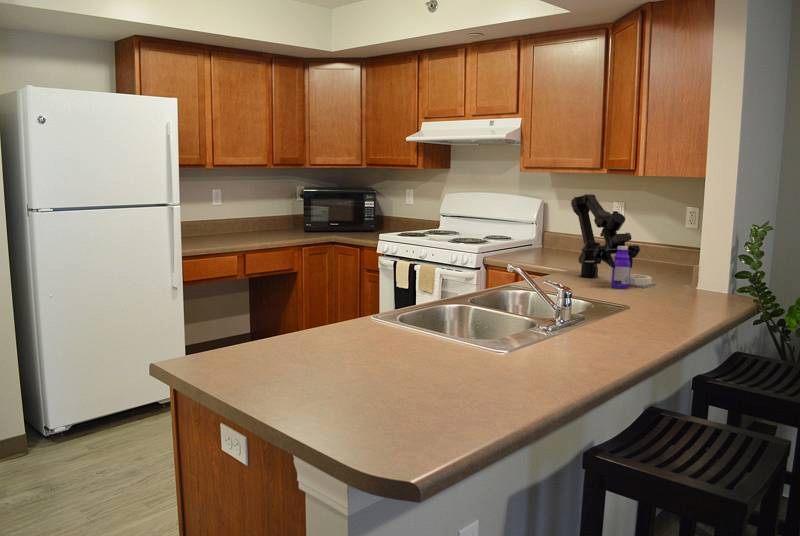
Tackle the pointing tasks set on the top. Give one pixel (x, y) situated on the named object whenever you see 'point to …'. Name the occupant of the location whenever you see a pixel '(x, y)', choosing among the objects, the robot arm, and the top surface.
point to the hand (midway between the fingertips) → (622, 267)
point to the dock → (640, 281)
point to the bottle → (621, 269)
